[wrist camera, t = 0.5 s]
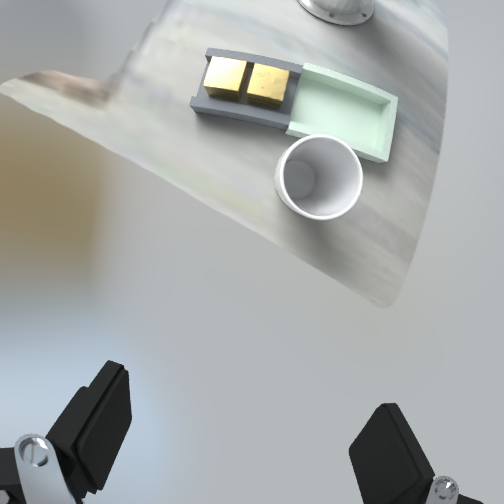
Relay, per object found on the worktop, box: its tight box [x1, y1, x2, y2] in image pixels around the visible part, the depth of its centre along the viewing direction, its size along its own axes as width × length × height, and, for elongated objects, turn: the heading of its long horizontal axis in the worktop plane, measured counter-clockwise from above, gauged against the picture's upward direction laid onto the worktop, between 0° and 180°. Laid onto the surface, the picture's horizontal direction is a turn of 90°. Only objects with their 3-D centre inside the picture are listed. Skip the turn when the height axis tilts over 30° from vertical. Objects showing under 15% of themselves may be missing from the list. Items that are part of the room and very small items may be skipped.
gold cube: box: [203, 57, 247, 101], centre depth 28 cm, size 4×4×4 cm
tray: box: [285, 62, 398, 163], centre depth 30 cm, size 9×13×3 cm
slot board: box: [189, 48, 303, 130], centre depth 30 cm, size 8×12×3 cm
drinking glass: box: [274, 134, 363, 220], centre depth 27 cm, size 7×7×15 cm
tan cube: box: [247, 63, 290, 109], centre depth 28 cm, size 4×4×4 cm
